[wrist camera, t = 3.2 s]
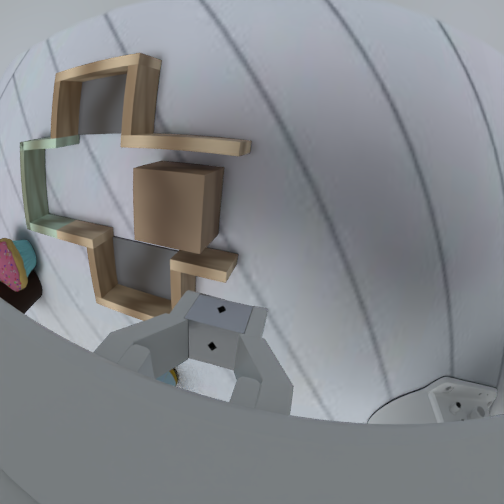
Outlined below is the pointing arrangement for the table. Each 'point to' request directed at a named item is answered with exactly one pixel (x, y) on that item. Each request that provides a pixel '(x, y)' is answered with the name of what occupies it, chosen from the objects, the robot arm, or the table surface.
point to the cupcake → (16, 263)
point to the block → (177, 204)
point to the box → (132, 136)
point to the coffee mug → (23, 293)
